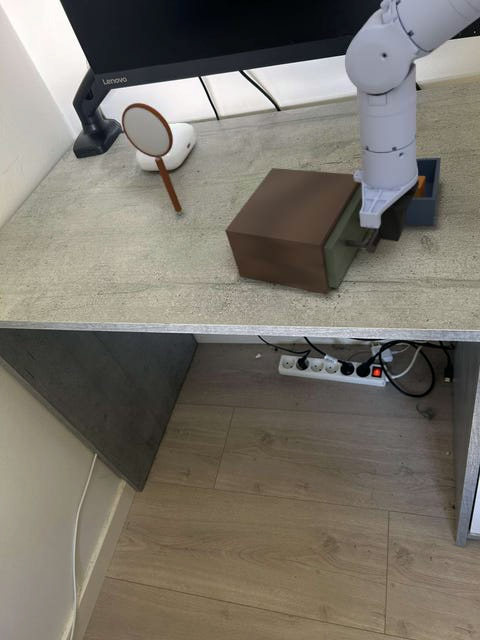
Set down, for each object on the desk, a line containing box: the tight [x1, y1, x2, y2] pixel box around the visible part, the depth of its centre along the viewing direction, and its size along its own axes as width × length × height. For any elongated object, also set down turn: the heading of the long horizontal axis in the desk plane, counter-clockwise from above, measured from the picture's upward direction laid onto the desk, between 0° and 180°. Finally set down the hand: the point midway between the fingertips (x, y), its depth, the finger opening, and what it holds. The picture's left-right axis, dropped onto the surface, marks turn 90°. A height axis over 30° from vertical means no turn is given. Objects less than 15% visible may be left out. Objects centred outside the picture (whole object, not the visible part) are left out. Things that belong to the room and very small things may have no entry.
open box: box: [404, 157, 442, 227], centre depth 71 cm, size 10×8×4 cm
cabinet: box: [225, 167, 361, 295], centre depth 68 cm, size 14×15×9 cm
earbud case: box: [135, 122, 197, 172], centre depth 98 cm, size 10×13×5 cm
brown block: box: [413, 176, 425, 198], centre depth 71 cm, size 4×3×4 cm, turn 62°
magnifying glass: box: [121, 102, 183, 216], centre depth 78 cm, size 9×2×20 cm, turn 65°
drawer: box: [323, 183, 383, 289], centre depth 67 cm, size 17×13×7 cm
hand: (391, 237), depth 62 cm, fingers closed, pressing on drawer
